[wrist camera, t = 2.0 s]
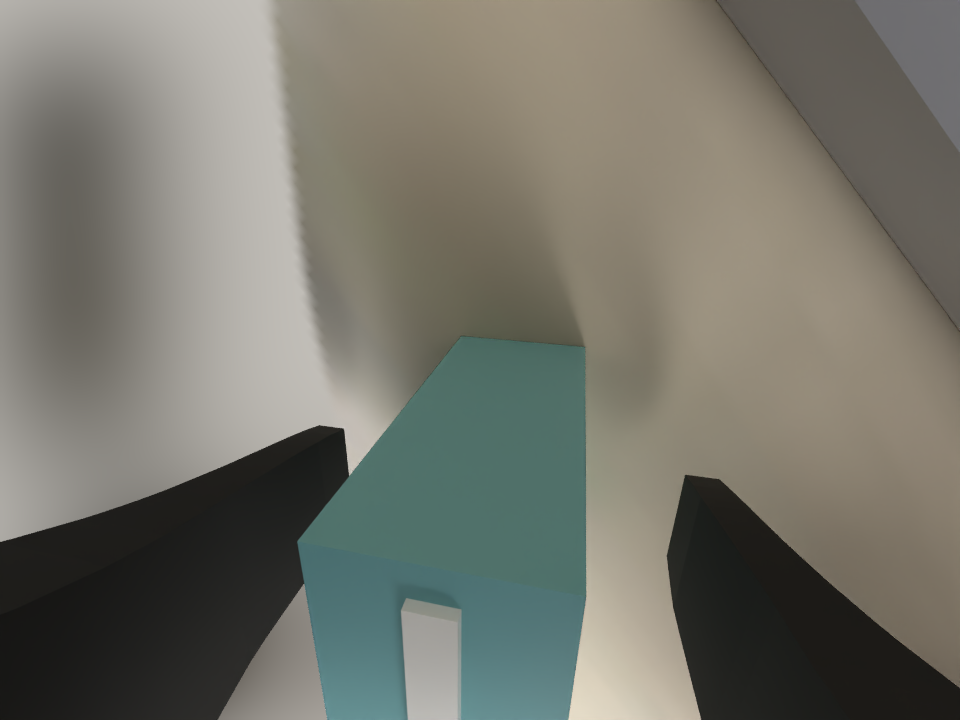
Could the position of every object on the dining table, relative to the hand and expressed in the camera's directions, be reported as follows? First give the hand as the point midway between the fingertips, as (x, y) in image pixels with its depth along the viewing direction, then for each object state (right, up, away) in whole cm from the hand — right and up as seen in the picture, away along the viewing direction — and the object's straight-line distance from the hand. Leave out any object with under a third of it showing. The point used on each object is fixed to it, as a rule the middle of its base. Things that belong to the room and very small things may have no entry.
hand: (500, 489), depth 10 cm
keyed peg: (+1, +1, +2) cm, 2 cm away
